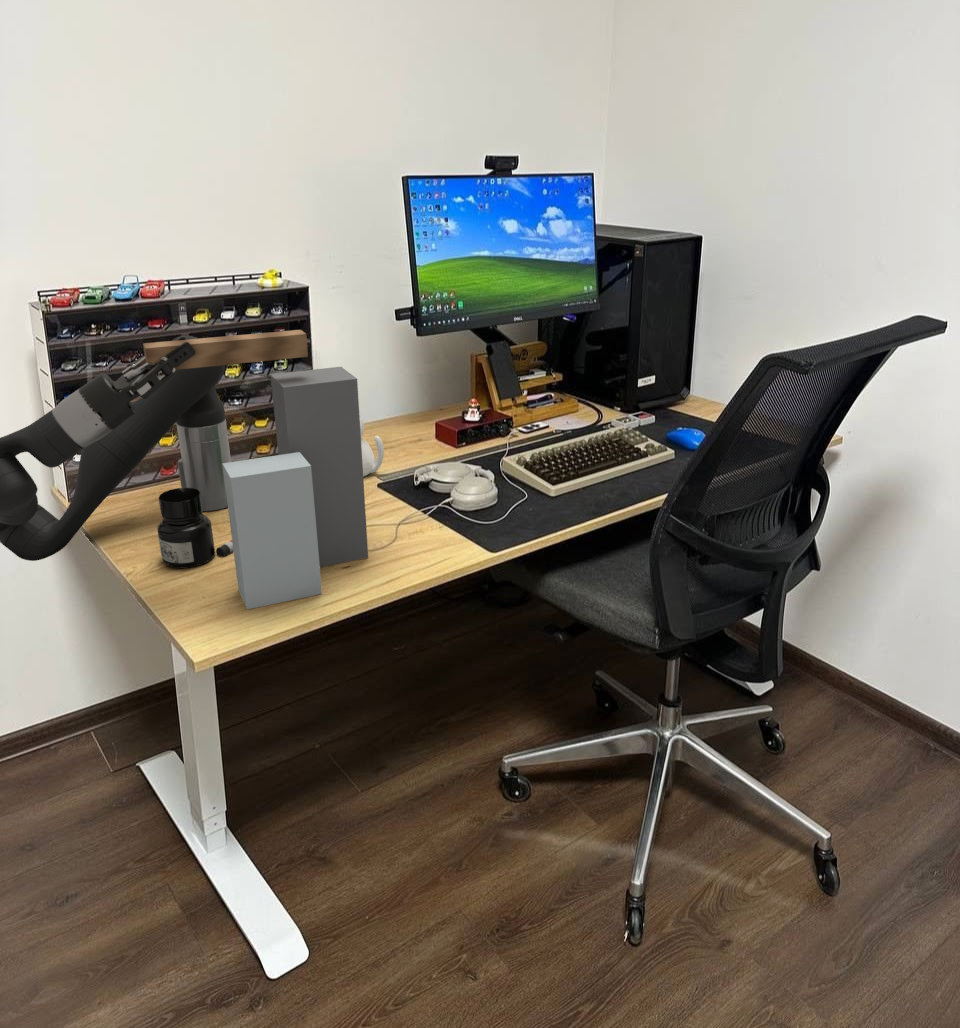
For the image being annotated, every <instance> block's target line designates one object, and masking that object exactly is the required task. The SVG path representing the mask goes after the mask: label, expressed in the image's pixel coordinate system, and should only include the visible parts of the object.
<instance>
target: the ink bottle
mask: <svg viewBox="0 0 960 1028" xmlns="http://www.w3.org/2000/svg"><path fill="white" fill-rule="evenodd" d="M158 504H159V508H160V514H161V518H162V520H161V521H160V522H159V523H158V525H157V530H156V531H157V538H158V544H159V545H158V546H159V549H160V556H161V559H162V562H163V564H164V565H167V566H169V567H172V568H176V569H188V568H194V567H197V566H200V565H203V564H206V563H208V562H209V561H211V560H212V559H213V558H214V556H216V555H215V554H216V549H215V542H214V534H213V529H212V522H211V520H210V518H209V517H208V516H206V515H204V514H203V512H204V511H203V509H202V508H203V507H202V500H201V493H200V491H199V490H197V489H194V488H181V487H176V488H173V489H169V490H166V491H163V492H162V493H161V494H159V496H158Z"/></svg>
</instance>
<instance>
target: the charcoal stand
mask: <svg viewBox="0 0 960 1028" xmlns="http://www.w3.org/2000/svg"><path fill="white" fill-rule="evenodd" d="M270 384H271V393H272V394H271V395H272V402H273V403H272V404H273V412H274V413H273V414H274V425H275V433H276V442H277V443H276V445H277V452H278V454H277V455H283V454H290V453H296V452H300V453H301V454H302V456H303V457H304V458H305V459H306V460H307V462H308V463H309V464H310V465H311V471H312V483H313V495H314V506H315V518H316V529H317V541H318V552H319V564H320V568H321V567H322V568H323V567H326V566H328V567H329V566H333V565H337V564H342V563H346V562H352V561H359V560H362V559H367V558H369V550H368V548H369V547H368V532H367V531H368V530H367V518H366V517H367V515H366V503H365V502H366V501H365V500H366V499H365V498H366V497H365V485H364V484H365V483H364V481H365V480H364V477H363V464H362V448H361V438H362V437H361V432H360V416H361V415H360V403H359V387H358V378H357V377H356V376H354V375H353V374H352V373H350V372H349V371H348V370H347V369H345V368H343V367H342V366H334V367H333V366H332V367H326V368H316V369H308V370H298V371H289V372H288V371H287V372H281V373H271V374H270ZM359 415H360V416H359Z"/></svg>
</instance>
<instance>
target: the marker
mask: <svg viewBox="0 0 960 1028" xmlns="http://www.w3.org/2000/svg"><path fill="white" fill-rule="evenodd" d="M231 553H234V551H233V543H232V539H231V540H229V541H227V542H225V543H224V544H222V545H220V546H219V547H217V548H216V549H215V554H216V555H217V556H218V557H222V558H225V557H226V556H228V555H230V554H231Z"/></svg>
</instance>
